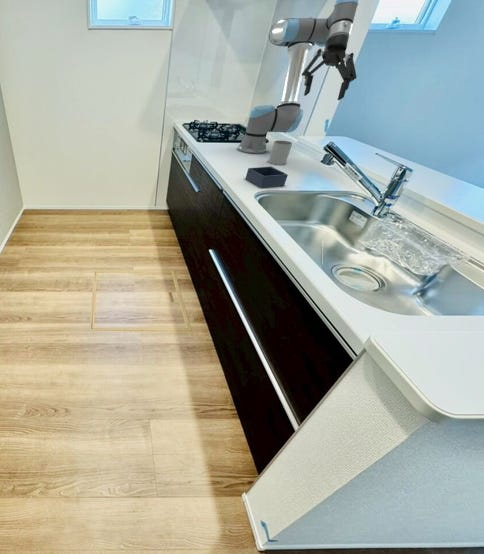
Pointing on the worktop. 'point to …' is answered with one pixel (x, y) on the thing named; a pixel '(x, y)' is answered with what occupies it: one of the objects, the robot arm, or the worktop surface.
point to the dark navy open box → (266, 177)
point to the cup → (280, 152)
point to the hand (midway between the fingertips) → (323, 96)
